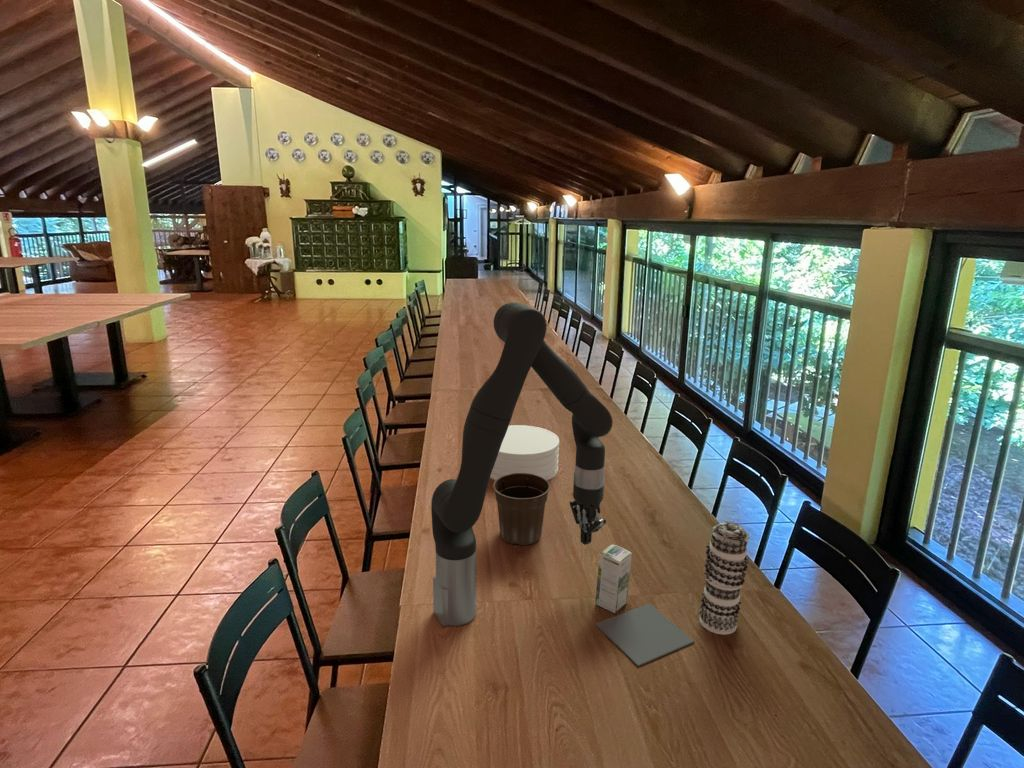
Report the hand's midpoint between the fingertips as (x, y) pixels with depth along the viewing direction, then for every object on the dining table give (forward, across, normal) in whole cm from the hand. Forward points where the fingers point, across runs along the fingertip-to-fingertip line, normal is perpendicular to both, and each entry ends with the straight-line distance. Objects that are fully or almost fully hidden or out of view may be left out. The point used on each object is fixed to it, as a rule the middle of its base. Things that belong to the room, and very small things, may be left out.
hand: (585, 542), depth 157 cm
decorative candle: (+11, +29, +18) cm, 36 cm away
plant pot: (+10, -26, -4) cm, 28 cm away
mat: (+10, +24, 0) cm, 26 cm away
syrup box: (+11, +12, 0) cm, 16 cm away
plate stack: (+11, -67, +19) cm, 70 cm away
